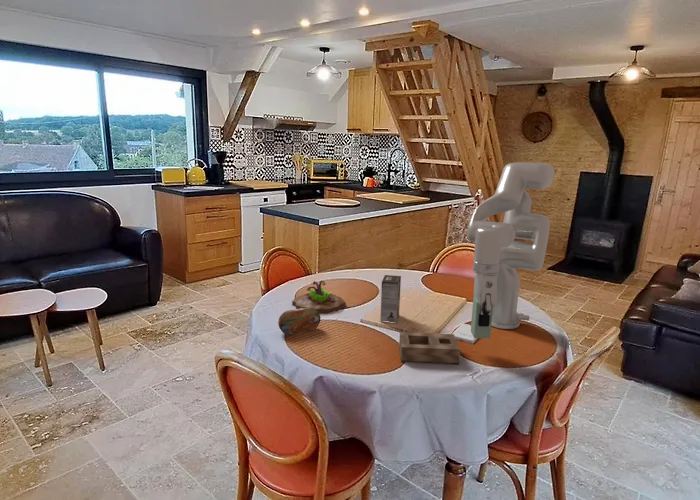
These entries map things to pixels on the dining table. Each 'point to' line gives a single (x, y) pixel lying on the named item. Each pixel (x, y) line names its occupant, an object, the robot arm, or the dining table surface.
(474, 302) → the square peg
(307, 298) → the plant
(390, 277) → the coffee box
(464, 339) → the external hard drive
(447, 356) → the socket block
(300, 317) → the tin
